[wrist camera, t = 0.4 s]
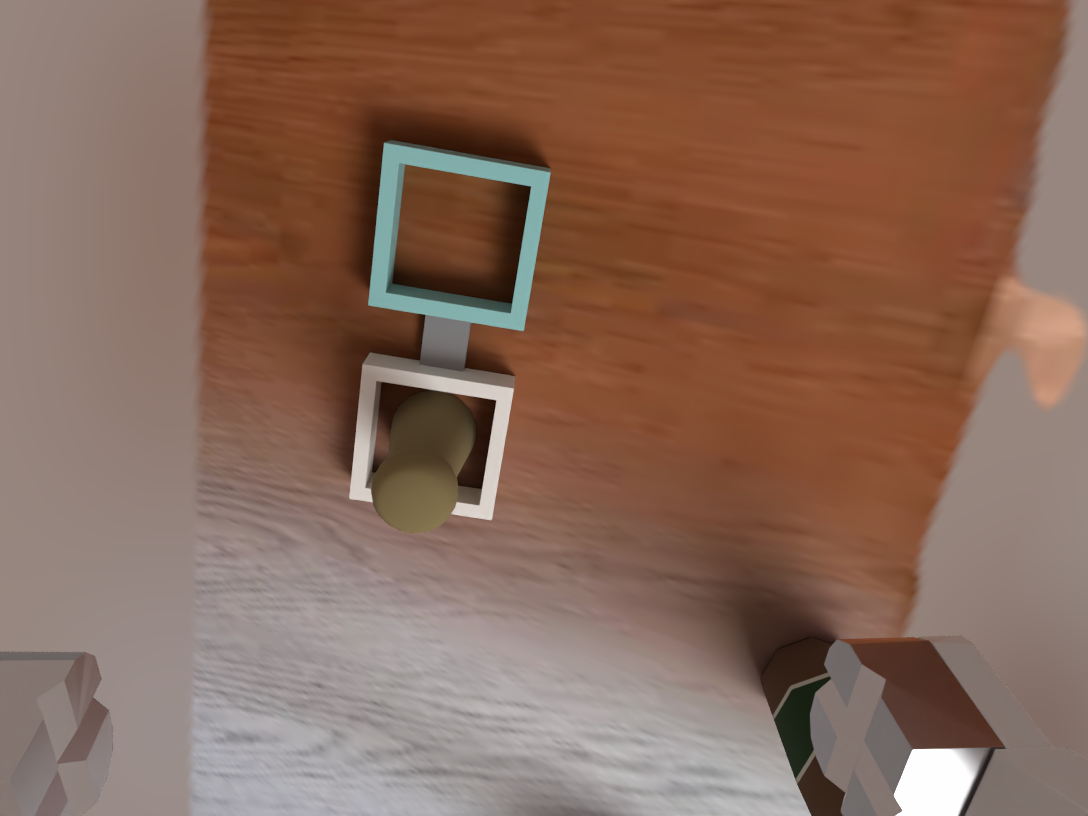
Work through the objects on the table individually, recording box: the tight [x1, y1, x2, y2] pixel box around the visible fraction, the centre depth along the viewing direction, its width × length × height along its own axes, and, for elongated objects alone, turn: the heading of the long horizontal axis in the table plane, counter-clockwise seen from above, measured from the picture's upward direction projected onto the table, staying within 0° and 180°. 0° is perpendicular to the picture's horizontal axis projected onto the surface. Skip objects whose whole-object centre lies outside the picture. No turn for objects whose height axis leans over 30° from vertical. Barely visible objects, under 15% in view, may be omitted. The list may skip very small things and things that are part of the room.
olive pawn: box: [371, 391, 477, 533], centre depth 54 cm, size 6×6×11 cm
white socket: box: [349, 315, 515, 520], centre depth 57 cm, size 14×10×2 cm
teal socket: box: [368, 140, 551, 331], centre depth 52 cm, size 10×10×2 cm
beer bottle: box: [761, 637, 845, 816], centre depth 55 cm, size 8×8×24 cm
